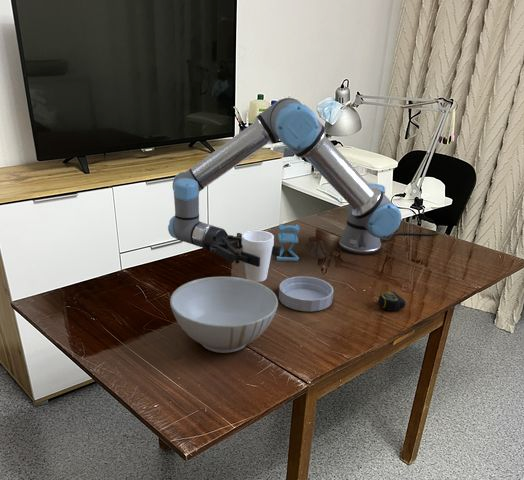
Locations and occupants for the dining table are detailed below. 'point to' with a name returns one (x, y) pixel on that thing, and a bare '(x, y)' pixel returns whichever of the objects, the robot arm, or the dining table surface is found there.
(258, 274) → the foam cup
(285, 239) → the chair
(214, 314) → the decorative bowl
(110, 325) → the dining table surface
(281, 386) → the dining table surface
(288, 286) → the white plant saucer
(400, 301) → the tape measure
